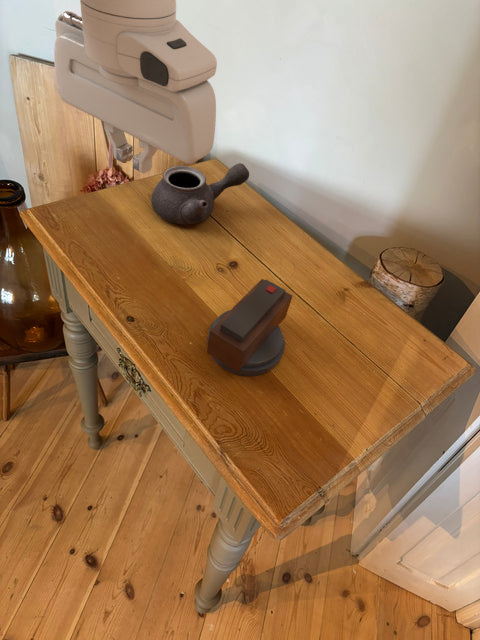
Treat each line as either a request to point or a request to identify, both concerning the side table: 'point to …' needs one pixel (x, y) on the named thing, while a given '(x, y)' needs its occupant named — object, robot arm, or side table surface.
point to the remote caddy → (251, 328)
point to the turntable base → (251, 370)
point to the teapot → (191, 193)
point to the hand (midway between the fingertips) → (132, 164)
